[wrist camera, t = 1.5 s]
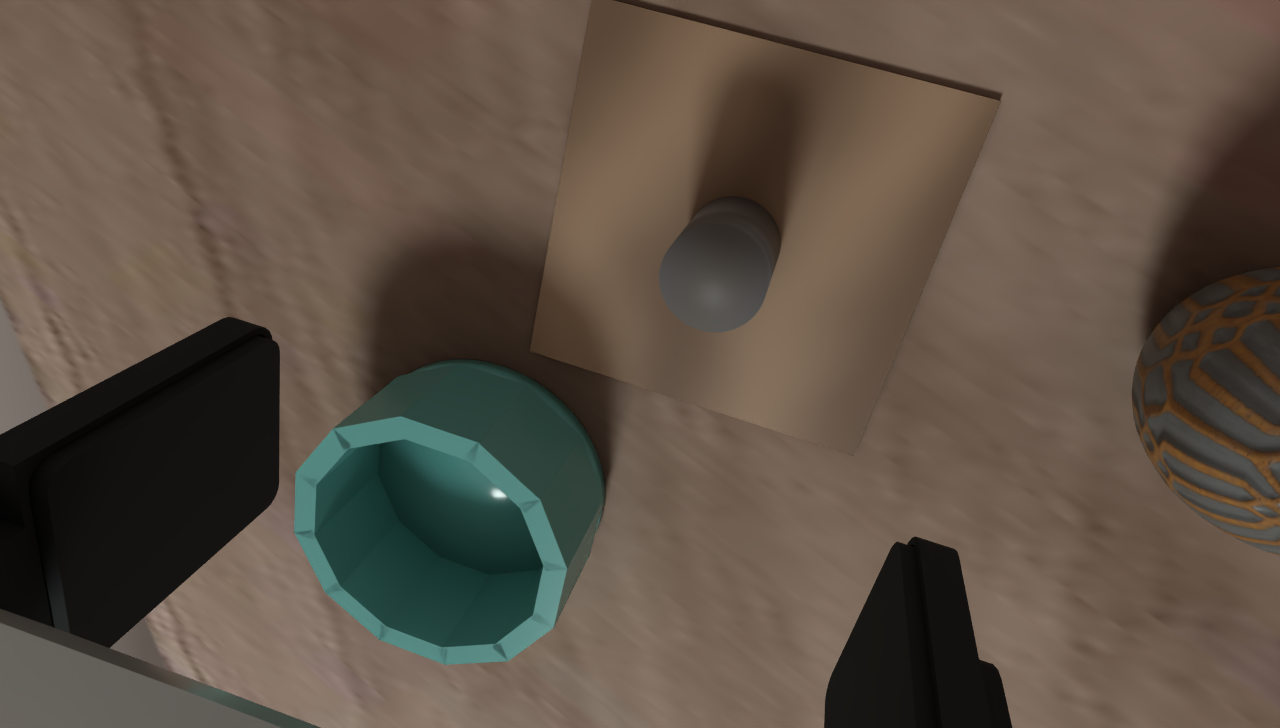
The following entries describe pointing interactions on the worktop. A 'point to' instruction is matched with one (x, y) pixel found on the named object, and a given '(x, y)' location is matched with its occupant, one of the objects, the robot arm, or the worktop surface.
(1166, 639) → the worktop surface
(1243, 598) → the worktop surface
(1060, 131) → the worktop surface
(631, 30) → the lid
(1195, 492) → the vase
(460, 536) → the bowl
